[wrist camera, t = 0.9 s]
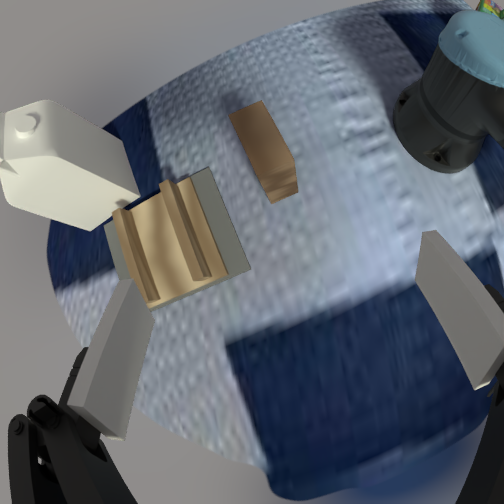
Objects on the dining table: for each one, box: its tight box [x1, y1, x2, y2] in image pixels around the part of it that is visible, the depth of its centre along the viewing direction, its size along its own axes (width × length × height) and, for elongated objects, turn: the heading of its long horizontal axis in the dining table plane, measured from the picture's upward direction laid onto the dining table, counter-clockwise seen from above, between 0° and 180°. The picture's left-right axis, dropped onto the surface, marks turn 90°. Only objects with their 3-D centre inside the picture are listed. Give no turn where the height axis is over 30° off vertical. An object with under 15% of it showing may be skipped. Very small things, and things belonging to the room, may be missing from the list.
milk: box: [0, 100, 140, 231], centre depth 33 cm, size 12×12×26 cm
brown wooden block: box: [228, 100, 298, 204], centre depth 35 cm, size 4×8×12 cm, turn 23°
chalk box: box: [476, 0, 504, 21], centre depth 28 cm, size 9×9×15 cm
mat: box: [104, 167, 251, 312], centre depth 43 cm, size 20×16×1 cm
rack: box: [112, 177, 229, 309], centre depth 40 cm, size 14×15×4 cm
